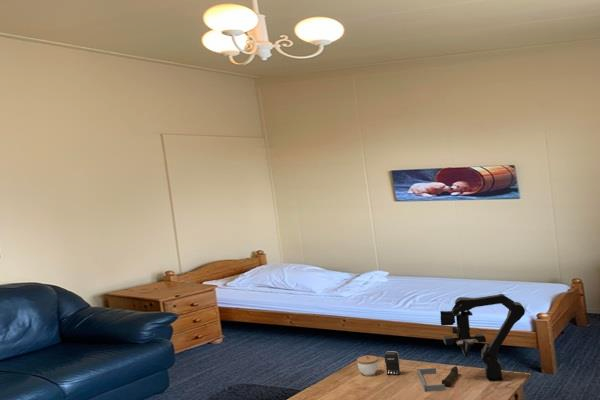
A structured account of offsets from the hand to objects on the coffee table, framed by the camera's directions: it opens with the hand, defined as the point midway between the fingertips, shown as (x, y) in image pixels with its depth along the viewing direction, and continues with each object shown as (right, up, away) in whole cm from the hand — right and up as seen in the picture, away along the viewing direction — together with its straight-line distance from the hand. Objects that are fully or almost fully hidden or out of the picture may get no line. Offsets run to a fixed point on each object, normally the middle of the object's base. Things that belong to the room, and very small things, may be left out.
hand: (465, 357), depth 279 cm
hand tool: (-7, -12, +1) cm, 14 cm away
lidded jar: (-44, -14, +21) cm, 51 cm away
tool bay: (-16, -12, +1) cm, 20 cm away
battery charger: (-32, -13, +16) cm, 38 cm away
